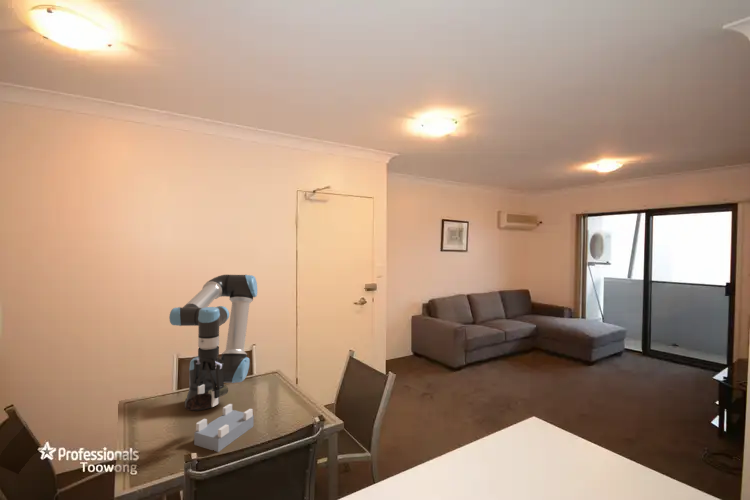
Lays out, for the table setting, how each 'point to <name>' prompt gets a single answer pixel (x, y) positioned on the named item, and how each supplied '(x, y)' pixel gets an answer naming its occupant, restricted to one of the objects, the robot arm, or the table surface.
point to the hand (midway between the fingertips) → (207, 403)
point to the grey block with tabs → (223, 429)
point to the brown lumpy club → (204, 399)
